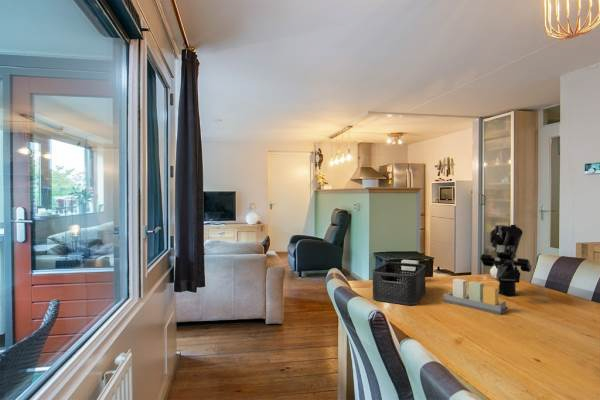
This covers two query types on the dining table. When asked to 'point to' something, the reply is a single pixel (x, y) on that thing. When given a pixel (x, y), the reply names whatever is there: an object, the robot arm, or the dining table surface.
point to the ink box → (407, 266)
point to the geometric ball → (493, 272)
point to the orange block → (490, 295)
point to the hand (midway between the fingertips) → (499, 278)
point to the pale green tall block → (475, 291)
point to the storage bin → (398, 283)
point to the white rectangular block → (459, 288)
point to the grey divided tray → (475, 304)
